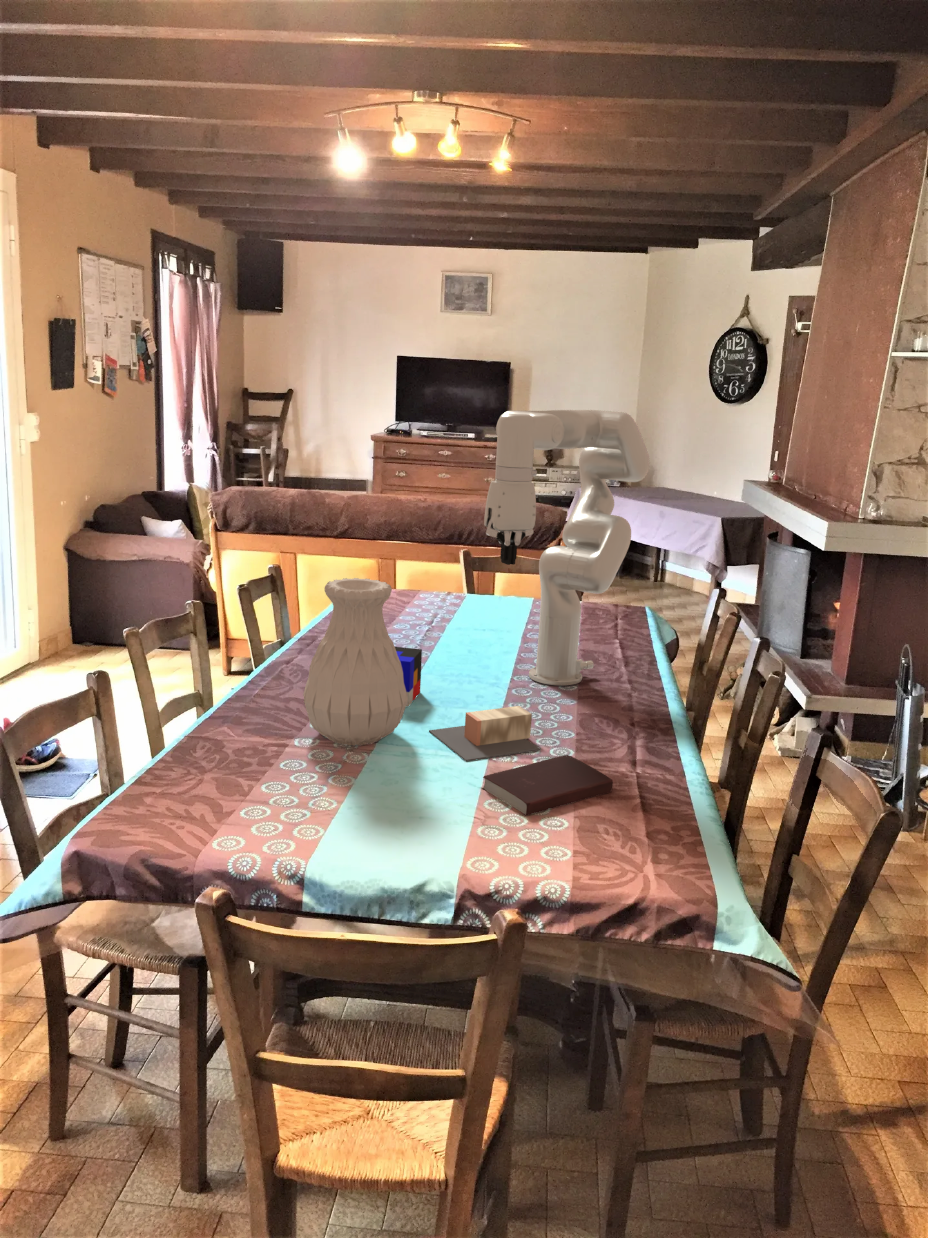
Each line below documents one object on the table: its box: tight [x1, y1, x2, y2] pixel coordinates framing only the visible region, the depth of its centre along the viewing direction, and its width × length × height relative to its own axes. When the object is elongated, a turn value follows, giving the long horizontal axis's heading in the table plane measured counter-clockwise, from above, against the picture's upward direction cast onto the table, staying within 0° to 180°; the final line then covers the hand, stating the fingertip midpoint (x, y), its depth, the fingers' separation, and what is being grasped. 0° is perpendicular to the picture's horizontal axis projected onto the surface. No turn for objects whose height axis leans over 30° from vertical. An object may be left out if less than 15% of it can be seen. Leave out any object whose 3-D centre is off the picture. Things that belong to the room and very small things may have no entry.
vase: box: [302, 577, 408, 747], centre depth 184 cm, size 20×20×30 cm
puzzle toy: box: [395, 646, 423, 707], centre depth 210 cm, size 10×10×10 cm
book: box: [482, 754, 614, 817], centre depth 167 cm, size 12×19×3 cm, turn 125°
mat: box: [428, 725, 541, 762], centre depth 189 cm, size 16×16×1 cm
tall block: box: [464, 705, 533, 746], centre depth 189 cm, size 5×5×12 cm
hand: (508, 563), depth 203 cm, fingers closed
